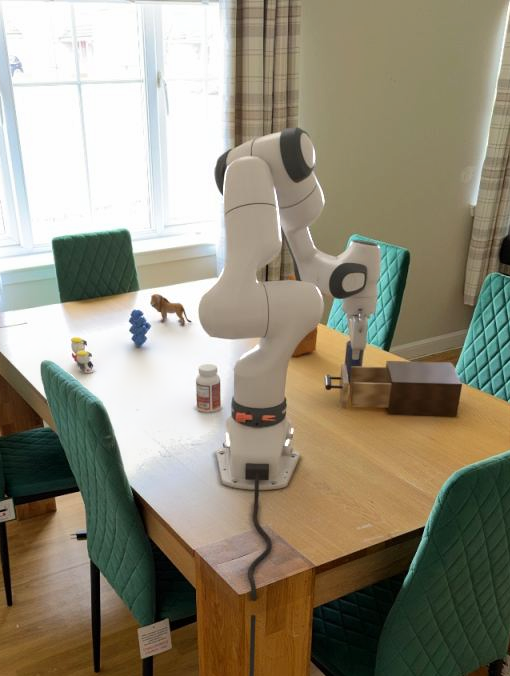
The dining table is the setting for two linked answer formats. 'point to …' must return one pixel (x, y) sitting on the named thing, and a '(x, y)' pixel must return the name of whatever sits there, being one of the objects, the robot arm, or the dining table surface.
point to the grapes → (138, 327)
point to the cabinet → (423, 388)
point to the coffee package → (305, 338)
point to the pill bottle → (208, 388)
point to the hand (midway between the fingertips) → (354, 354)
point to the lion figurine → (168, 308)
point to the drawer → (363, 386)
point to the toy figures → (81, 354)
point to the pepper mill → (350, 361)
